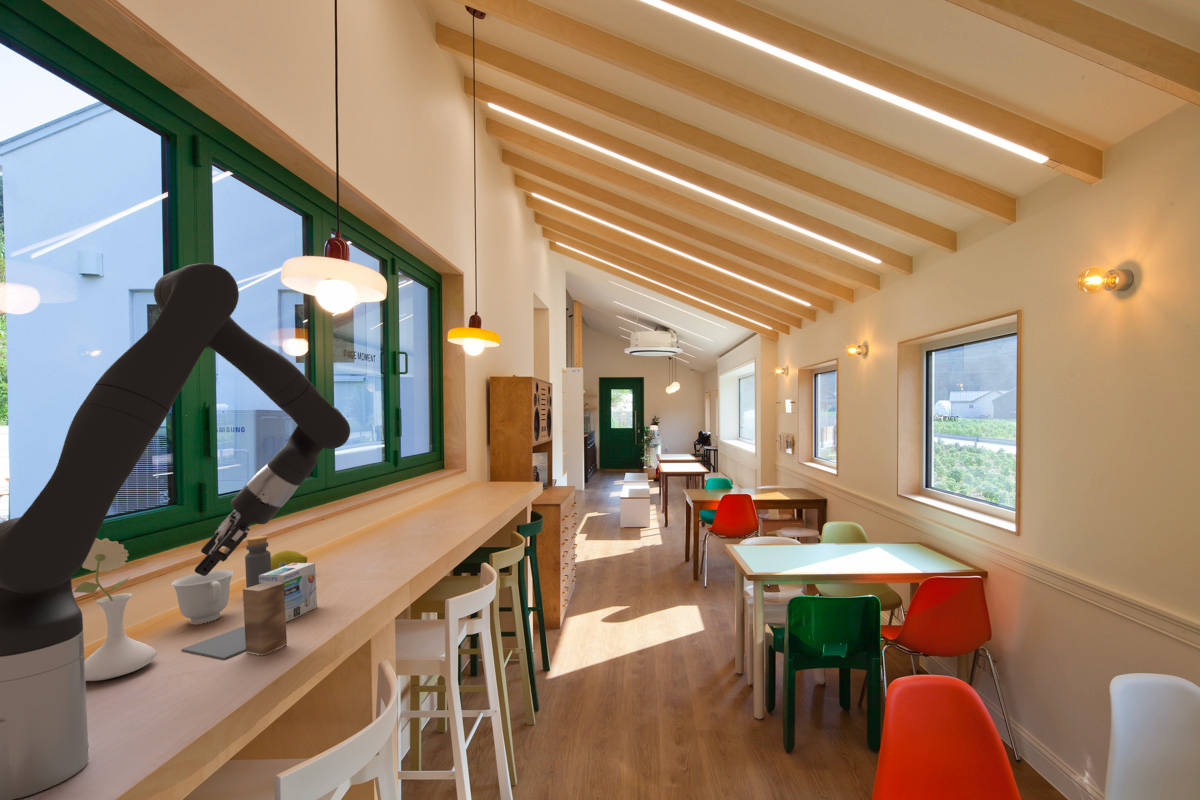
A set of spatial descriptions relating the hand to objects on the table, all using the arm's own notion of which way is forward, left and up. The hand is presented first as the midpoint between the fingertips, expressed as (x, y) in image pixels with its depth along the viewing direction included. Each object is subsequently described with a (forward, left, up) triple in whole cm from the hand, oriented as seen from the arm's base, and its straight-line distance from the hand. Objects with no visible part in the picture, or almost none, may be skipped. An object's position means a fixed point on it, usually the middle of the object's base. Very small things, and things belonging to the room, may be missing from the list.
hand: (202, 563), depth 103 cm
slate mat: (+8, +8, -19) cm, 22 cm away
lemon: (+42, +48, -19) cm, 67 cm away
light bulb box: (+23, +14, -19) cm, 33 cm away
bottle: (+30, +40, -19) cm, 54 cm away
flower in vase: (-9, +16, -19) cm, 26 cm away
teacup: (+13, +30, -19) cm, 38 cm away
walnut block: (+9, -2, -19) cm, 21 cm away
